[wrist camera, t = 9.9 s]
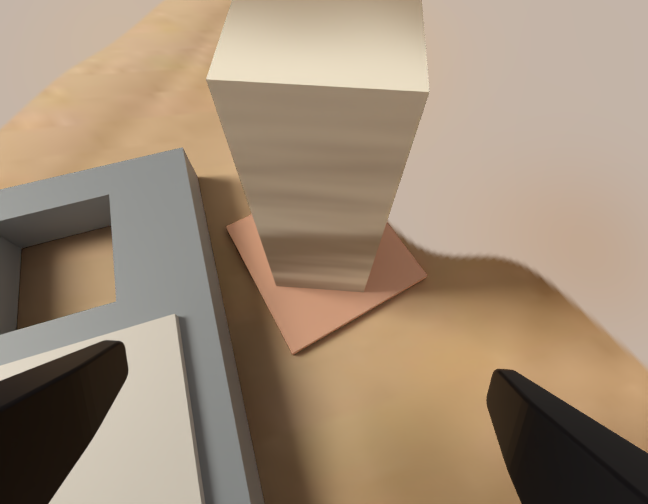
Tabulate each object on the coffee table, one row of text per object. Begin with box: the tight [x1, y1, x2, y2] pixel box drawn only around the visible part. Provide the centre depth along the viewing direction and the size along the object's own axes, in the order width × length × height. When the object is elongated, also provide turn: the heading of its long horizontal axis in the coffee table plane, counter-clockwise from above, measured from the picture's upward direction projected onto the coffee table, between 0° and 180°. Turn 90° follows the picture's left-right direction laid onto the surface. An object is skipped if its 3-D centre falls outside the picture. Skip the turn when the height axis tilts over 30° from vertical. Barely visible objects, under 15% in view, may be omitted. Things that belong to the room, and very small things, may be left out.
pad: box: [226, 214, 427, 355], centre depth 19 cm, size 8×8×1 cm
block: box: [206, 0, 429, 292], centre depth 13 cm, size 4×4×12 cm
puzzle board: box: [0, 148, 265, 504], centre depth 15 cm, size 21×14×3 cm, turn 18°
